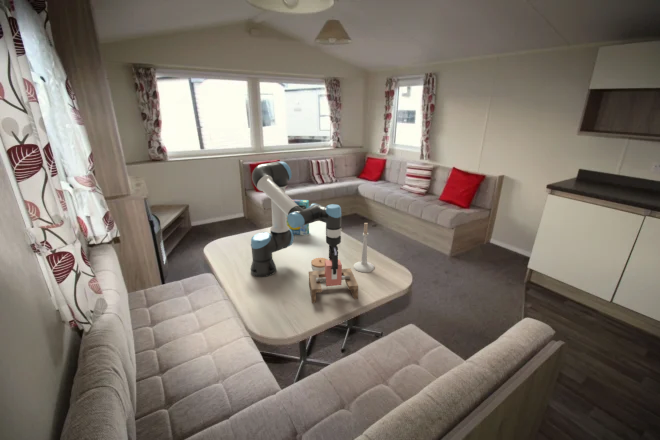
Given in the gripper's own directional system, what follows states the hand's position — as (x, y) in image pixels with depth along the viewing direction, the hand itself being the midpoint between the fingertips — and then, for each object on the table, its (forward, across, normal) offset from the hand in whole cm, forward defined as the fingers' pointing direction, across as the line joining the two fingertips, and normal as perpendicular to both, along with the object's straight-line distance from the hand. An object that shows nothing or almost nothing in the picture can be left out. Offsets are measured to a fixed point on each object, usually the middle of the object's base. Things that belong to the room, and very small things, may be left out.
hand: (333, 275), depth 161 cm
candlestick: (+11, +25, -24) cm, 36 cm away
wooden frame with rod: (+11, +2, 0) cm, 11 cm away
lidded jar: (+11, +22, +4) cm, 25 cm away
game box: (+11, +86, +15) cm, 88 cm away
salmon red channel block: (+4, 0, 0) cm, 4 cm away
